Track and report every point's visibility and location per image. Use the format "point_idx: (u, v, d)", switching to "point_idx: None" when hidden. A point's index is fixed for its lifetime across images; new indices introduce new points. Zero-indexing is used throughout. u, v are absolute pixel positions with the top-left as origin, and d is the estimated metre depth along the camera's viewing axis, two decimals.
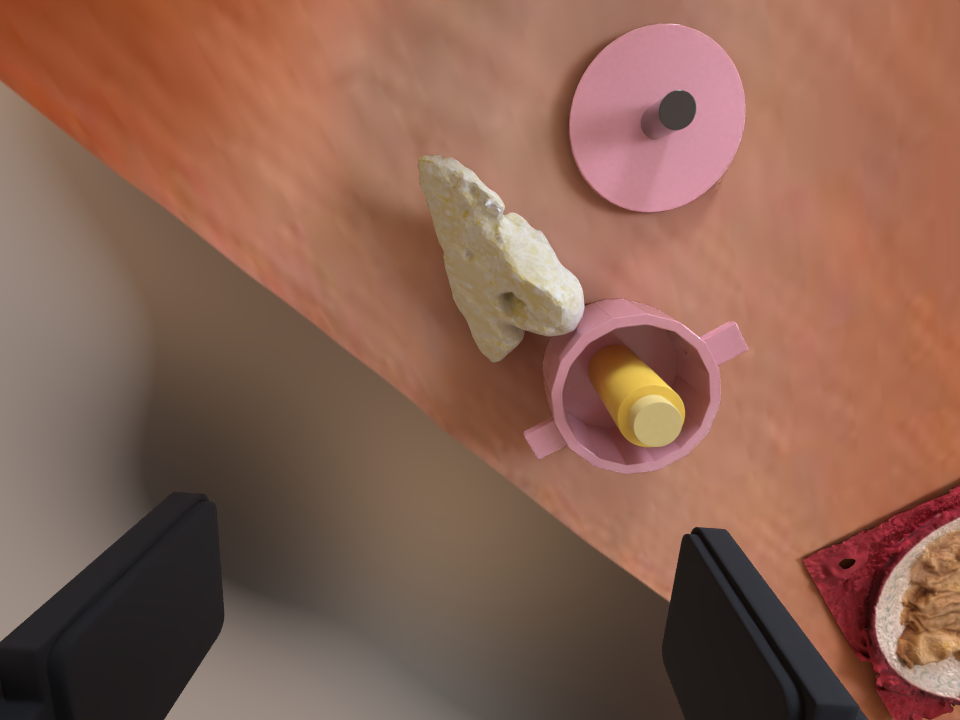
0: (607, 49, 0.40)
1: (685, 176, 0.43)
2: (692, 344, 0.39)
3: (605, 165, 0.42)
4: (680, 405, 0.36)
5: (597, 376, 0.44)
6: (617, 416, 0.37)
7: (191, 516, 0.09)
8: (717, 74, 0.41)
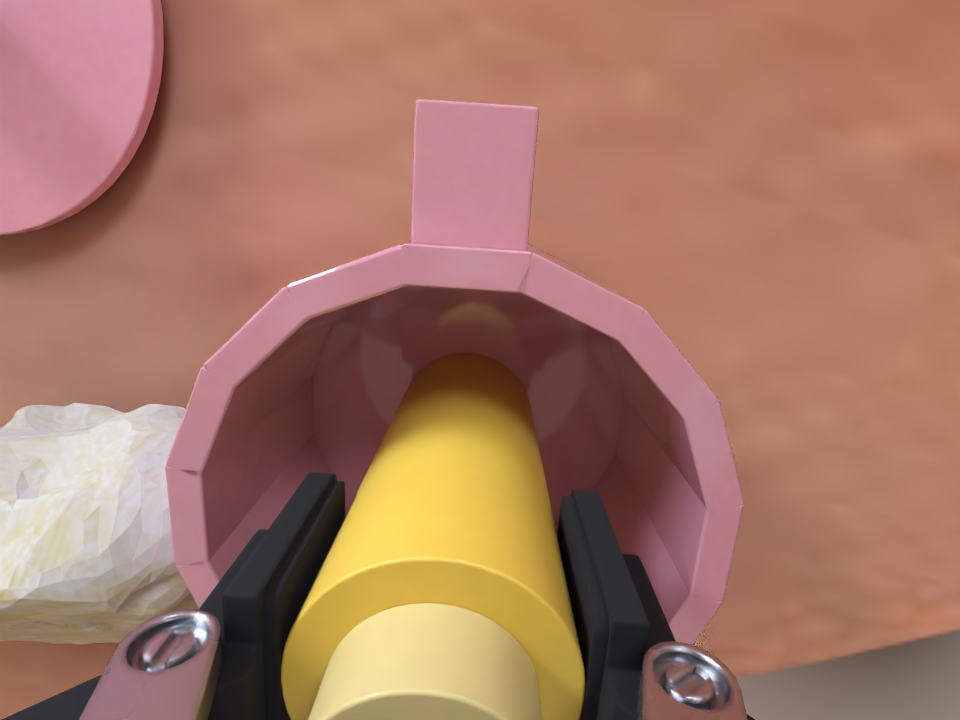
0: None
1: None
2: (383, 289, 0.10)
3: None
4: (456, 574, 0.07)
5: None
6: None
7: (331, 493, 0.11)
8: None
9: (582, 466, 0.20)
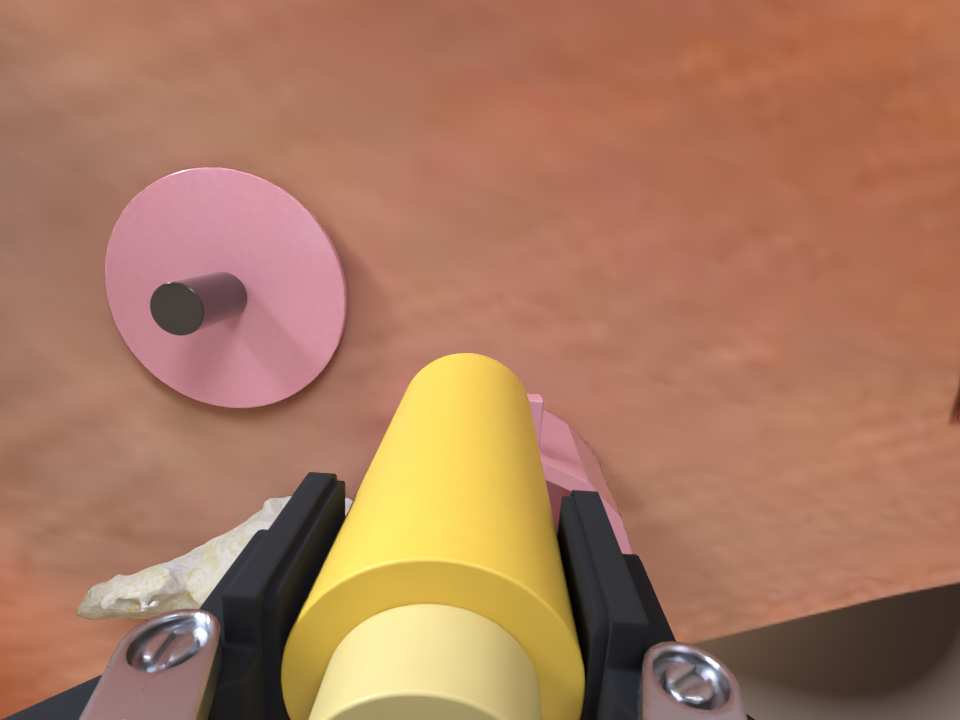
0: (112, 305, 0.30)
1: (309, 297, 0.30)
2: None
3: (244, 378, 0.31)
4: (456, 575, 0.07)
5: None
6: None
7: (331, 492, 0.11)
8: (206, 194, 0.29)
9: None
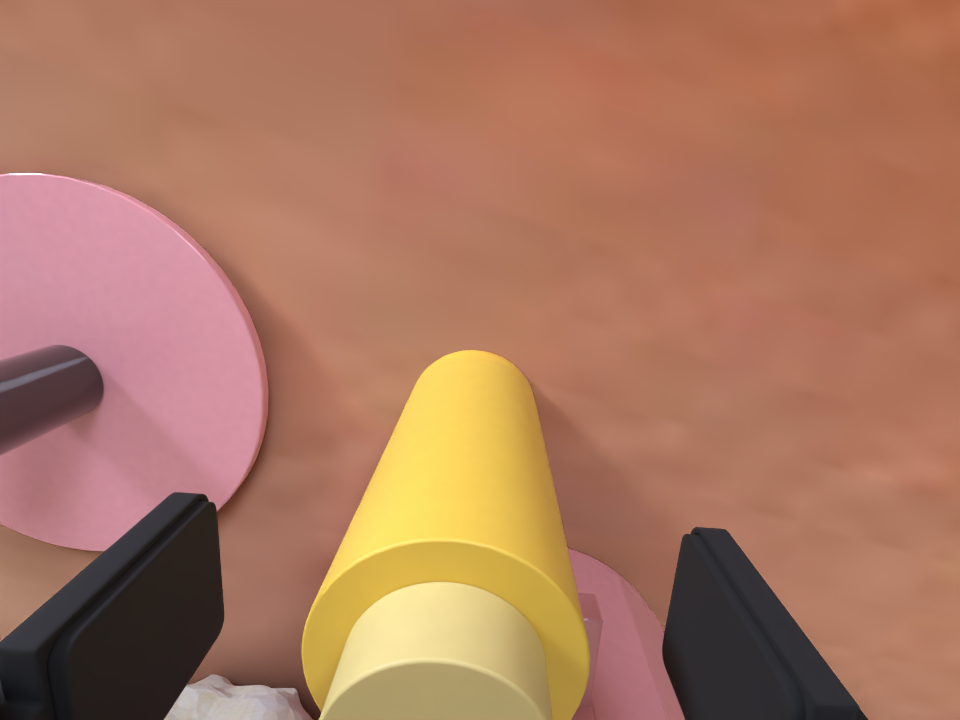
0: None
1: (204, 385, 0.18)
2: None
3: (107, 508, 0.20)
4: (468, 555, 0.08)
5: None
6: None
7: (191, 516, 0.09)
8: (23, 218, 0.17)
9: None
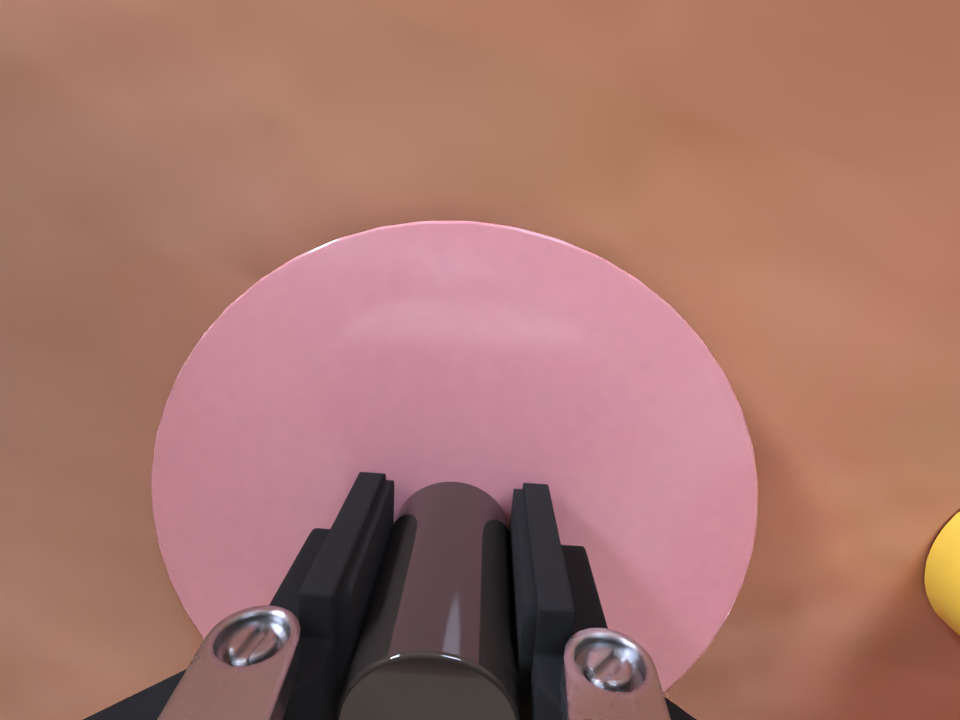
0: (168, 551, 0.12)
1: (666, 539, 0.12)
2: None
3: None
4: None
5: None
6: None
7: (384, 492, 0.11)
8: (432, 291, 0.11)
9: None
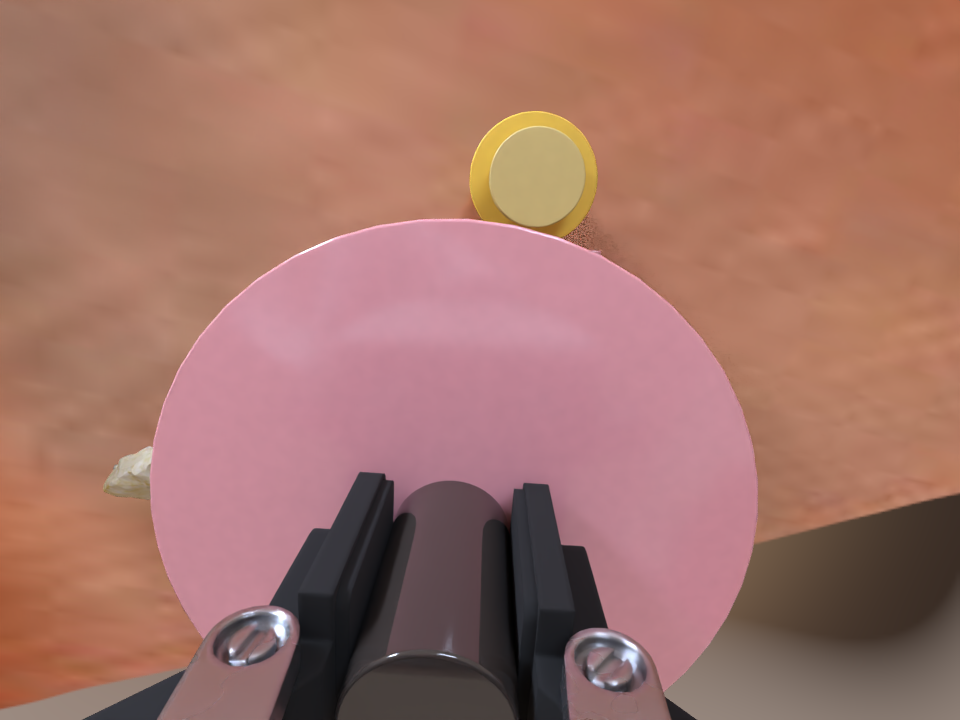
0: (167, 550, 0.12)
1: (665, 539, 0.12)
2: None
3: None
4: (546, 119, 0.19)
5: None
6: None
7: (383, 492, 0.11)
8: (431, 290, 0.11)
9: None
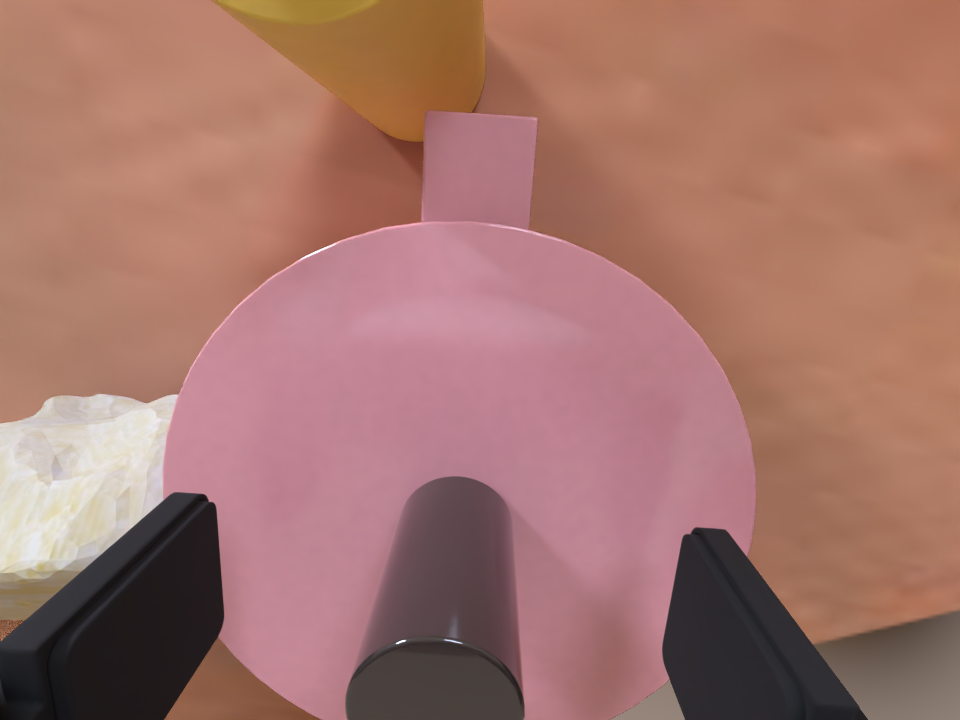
0: None
1: (666, 533, 0.12)
2: None
3: None
4: None
5: None
6: None
7: (191, 516, 0.09)
8: (437, 290, 0.11)
9: None
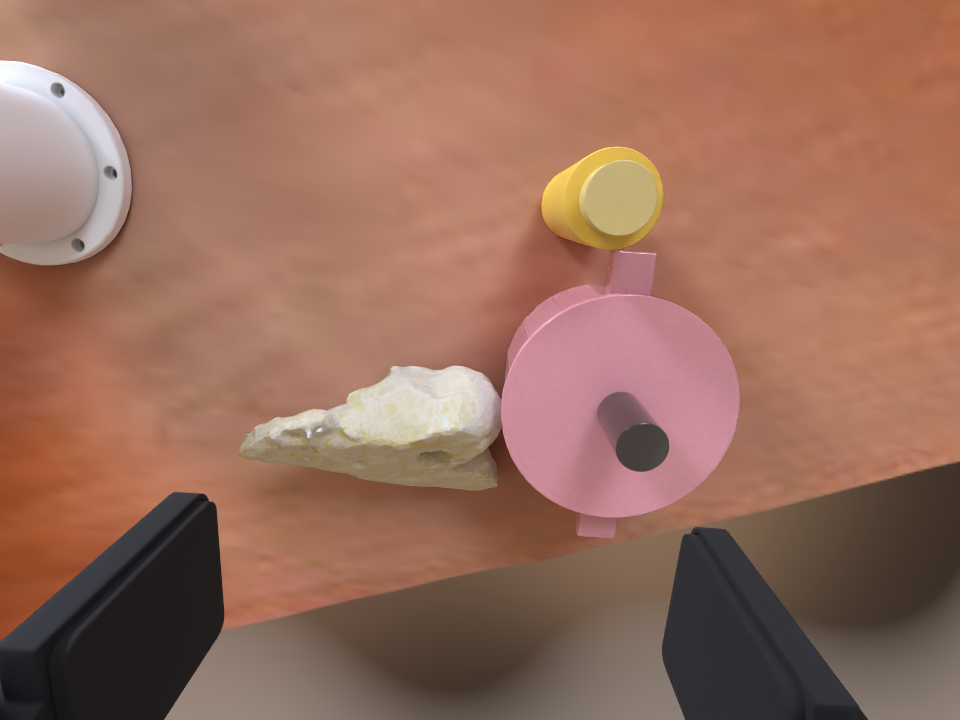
0: (505, 421, 0.31)
1: (703, 415, 0.30)
2: None
3: (622, 490, 0.32)
4: (625, 152, 0.24)
5: (556, 229, 0.32)
6: (584, 241, 0.25)
7: (191, 516, 0.09)
8: (620, 319, 0.29)
9: None
